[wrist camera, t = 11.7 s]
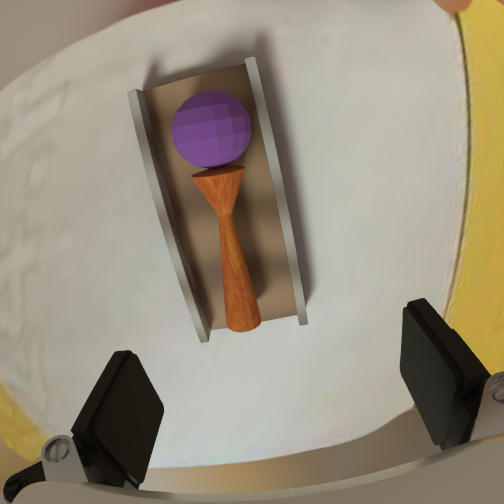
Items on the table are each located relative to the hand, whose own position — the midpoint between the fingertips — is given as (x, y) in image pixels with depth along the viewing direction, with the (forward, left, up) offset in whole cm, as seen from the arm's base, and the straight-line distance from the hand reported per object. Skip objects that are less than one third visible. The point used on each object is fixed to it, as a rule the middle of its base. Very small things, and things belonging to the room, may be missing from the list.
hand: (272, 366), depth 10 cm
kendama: (+1, +3, -19) cm, 19 cm away
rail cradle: (+2, +3, -20) cm, 20 cm away
